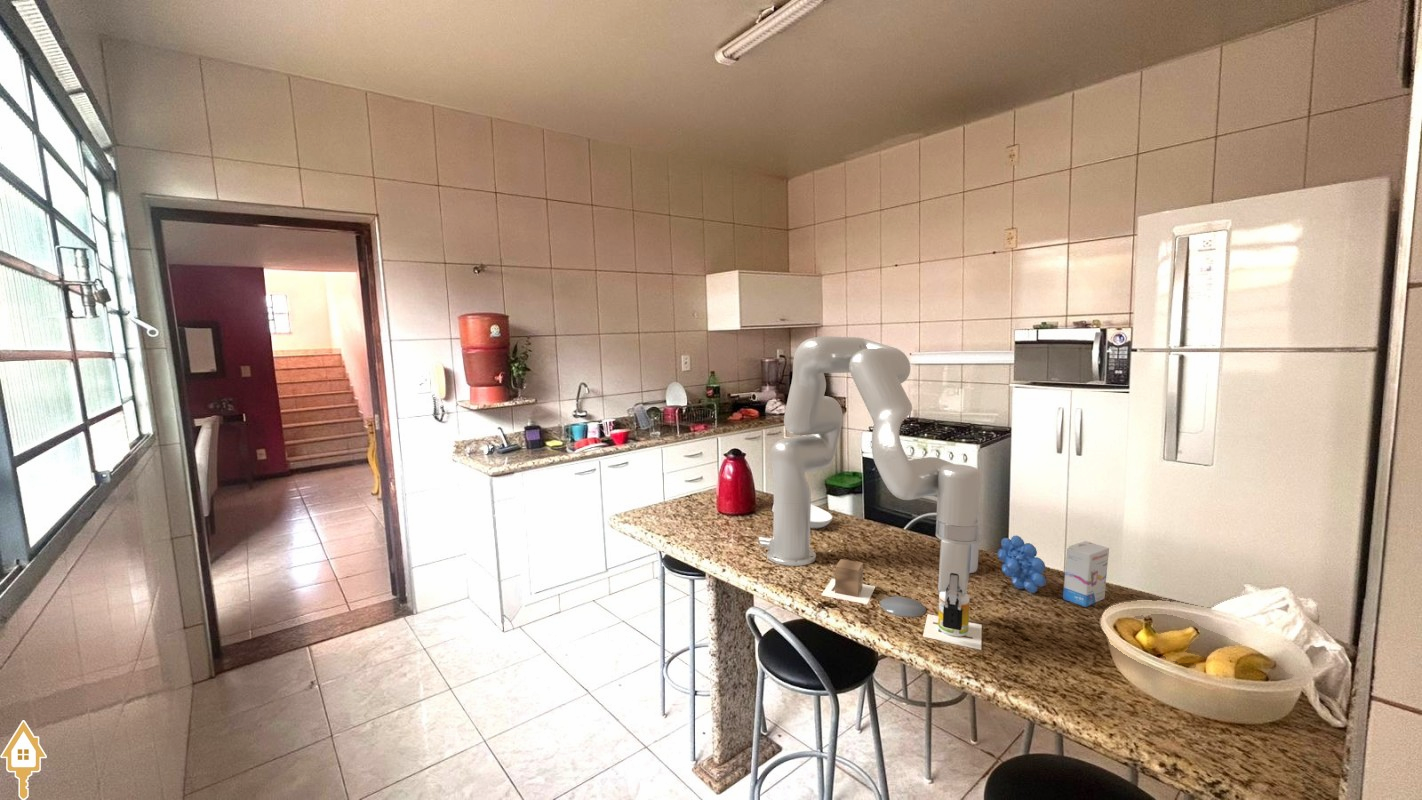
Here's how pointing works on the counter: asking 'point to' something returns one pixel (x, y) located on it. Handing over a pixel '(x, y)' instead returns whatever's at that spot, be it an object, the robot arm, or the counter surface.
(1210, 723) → the counter surface
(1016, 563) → the grapes
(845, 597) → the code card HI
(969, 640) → the card
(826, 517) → the spoon rest
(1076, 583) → the ink box
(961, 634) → the supplement bottle
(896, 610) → the gray round coaster
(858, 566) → the walnut block
